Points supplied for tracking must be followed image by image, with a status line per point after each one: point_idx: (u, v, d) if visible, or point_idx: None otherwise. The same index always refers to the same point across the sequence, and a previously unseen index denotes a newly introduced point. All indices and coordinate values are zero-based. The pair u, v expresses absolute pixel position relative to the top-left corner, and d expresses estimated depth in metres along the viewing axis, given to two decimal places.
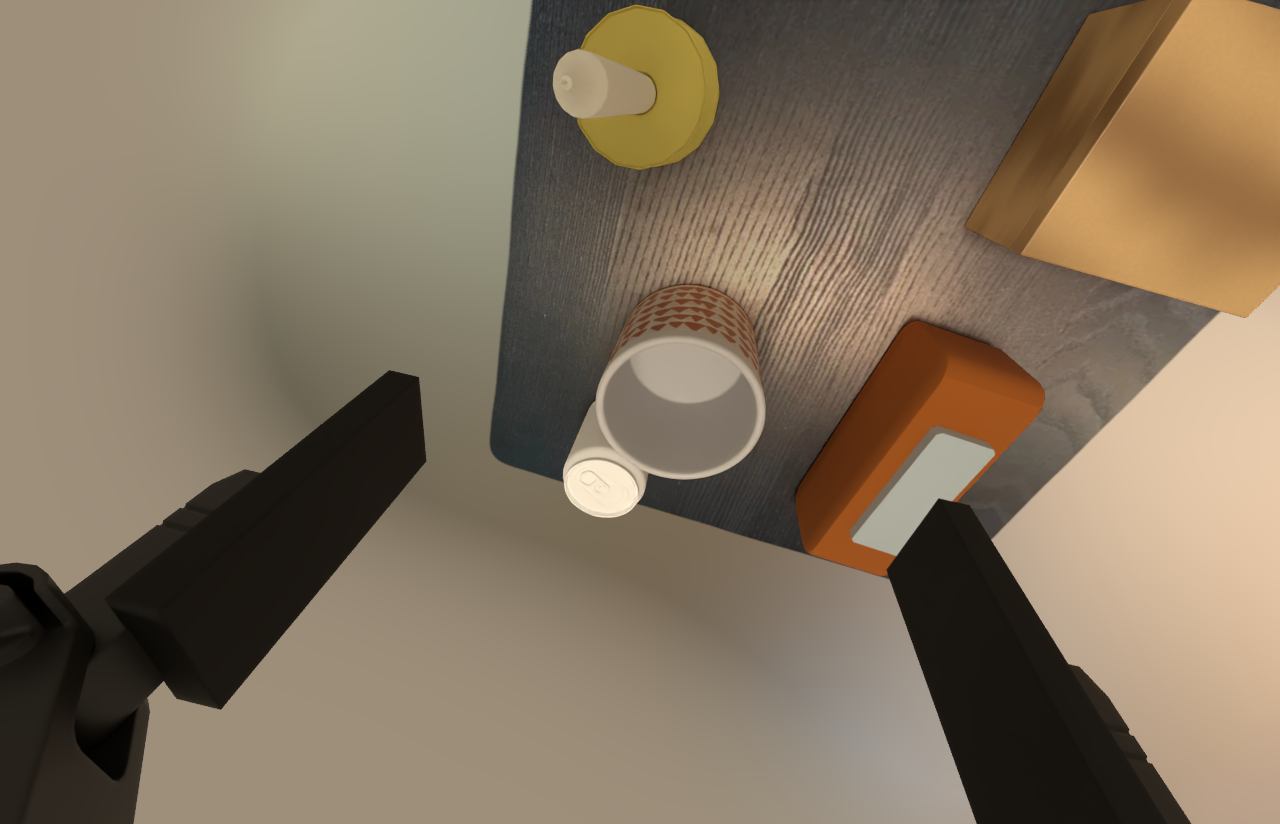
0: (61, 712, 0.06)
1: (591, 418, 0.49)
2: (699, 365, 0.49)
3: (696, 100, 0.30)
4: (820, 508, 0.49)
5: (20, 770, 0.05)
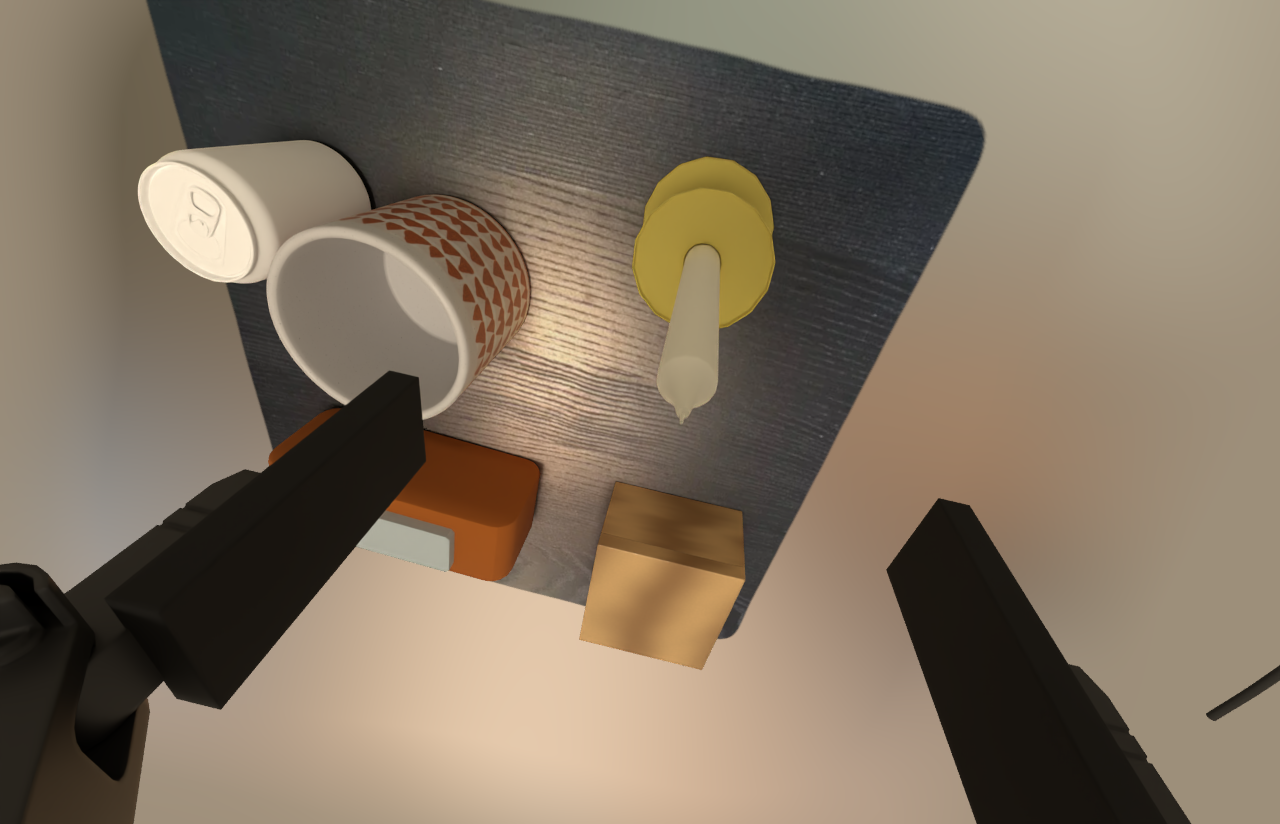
0: (61, 712, 0.06)
1: (309, 169, 0.34)
2: None
3: None
4: None
5: (20, 770, 0.05)
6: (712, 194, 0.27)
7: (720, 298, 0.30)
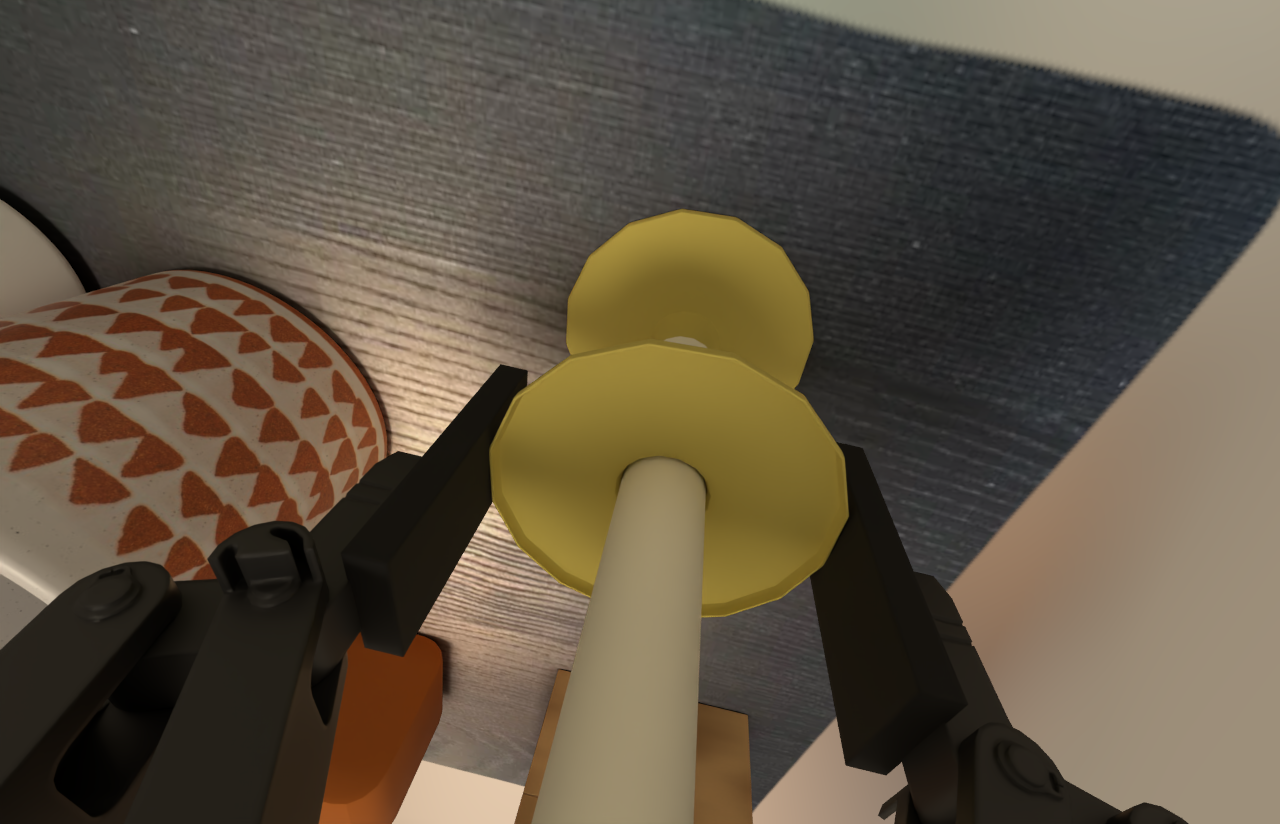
0: (307, 659, 0.06)
1: None
2: None
3: None
4: None
5: (279, 705, 0.06)
6: (681, 354, 0.10)
7: (708, 561, 0.13)
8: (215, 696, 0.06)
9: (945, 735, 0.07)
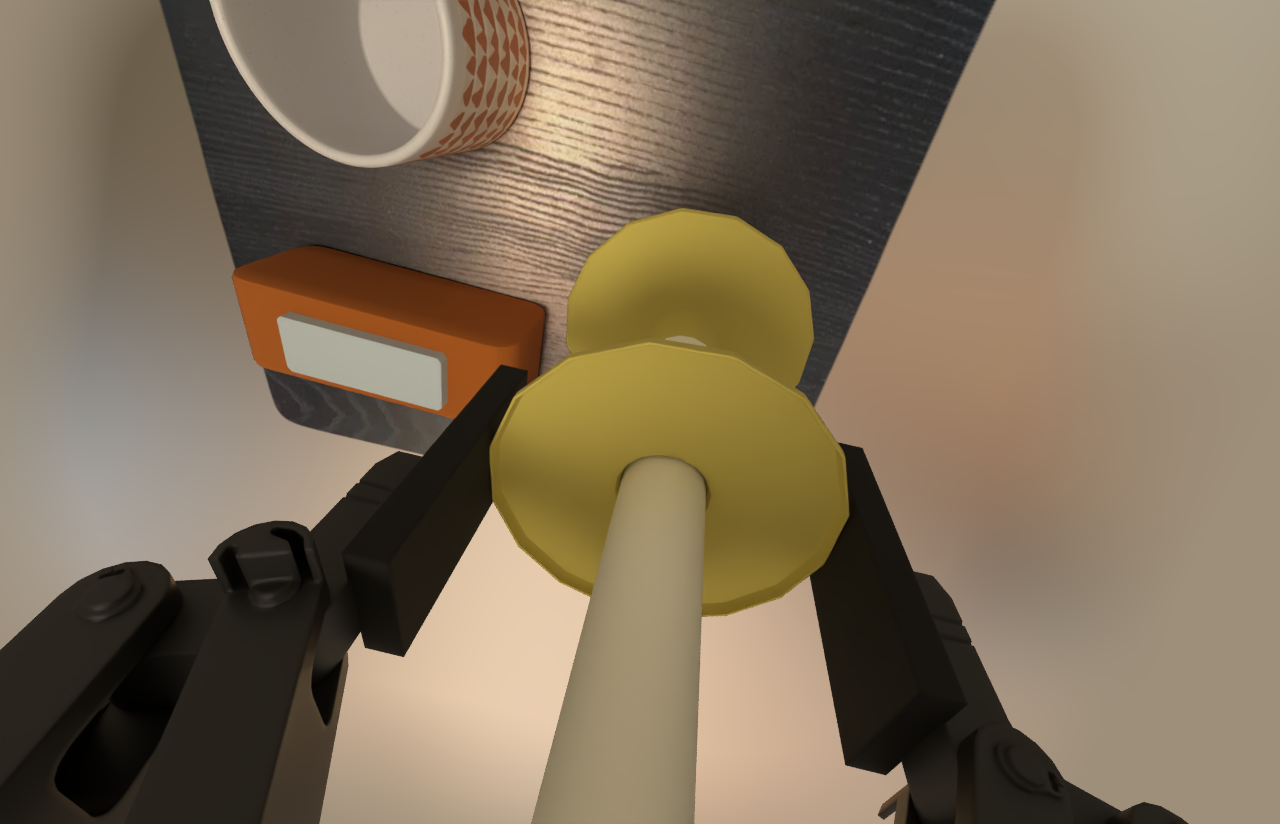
0: (307, 659, 0.06)
1: None
2: (426, 71, 0.36)
3: None
4: (303, 274, 0.40)
5: (279, 705, 0.06)
6: (682, 352, 0.10)
7: (708, 560, 0.13)
8: (215, 696, 0.06)
9: (944, 734, 0.08)
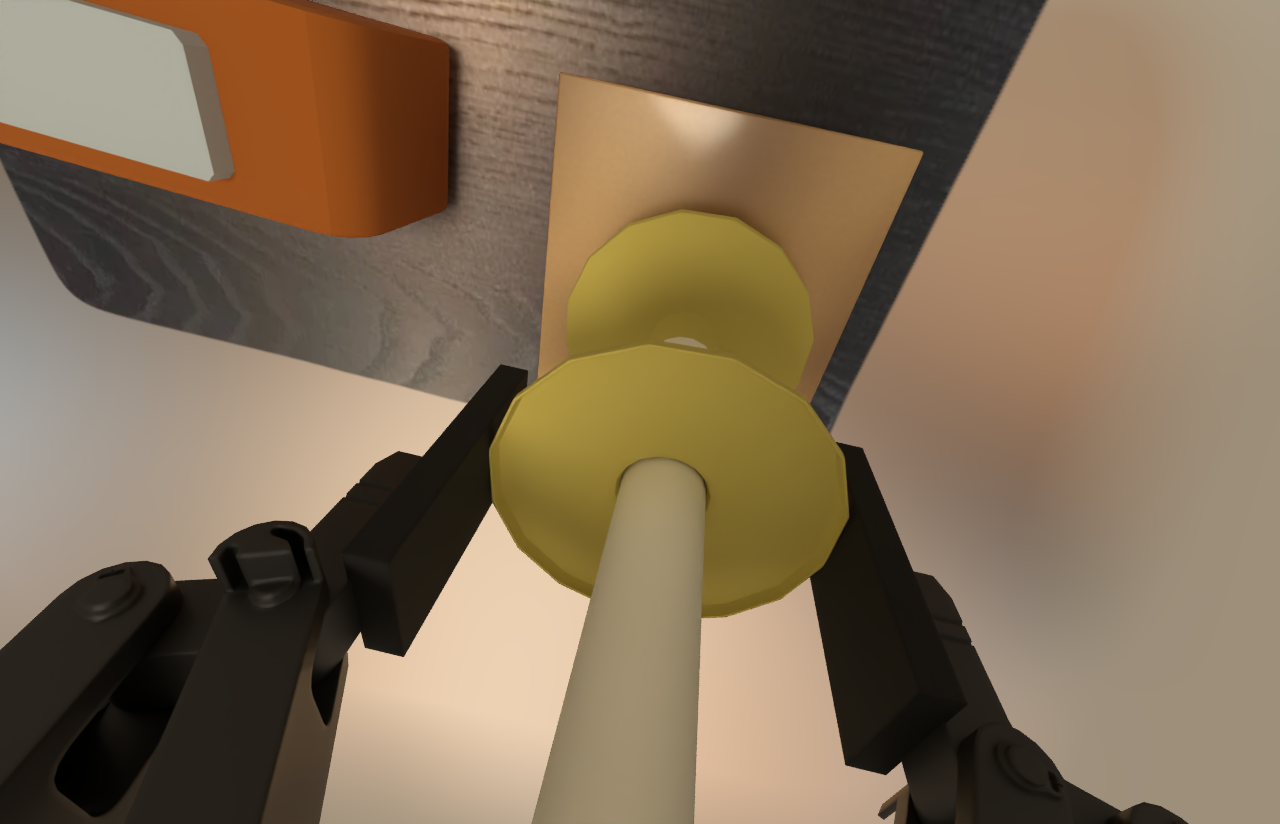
0: (307, 659, 0.06)
1: None
2: None
3: None
4: None
5: (279, 705, 0.06)
6: (681, 354, 0.10)
7: (708, 561, 0.13)
8: (215, 696, 0.06)
9: (945, 734, 0.08)
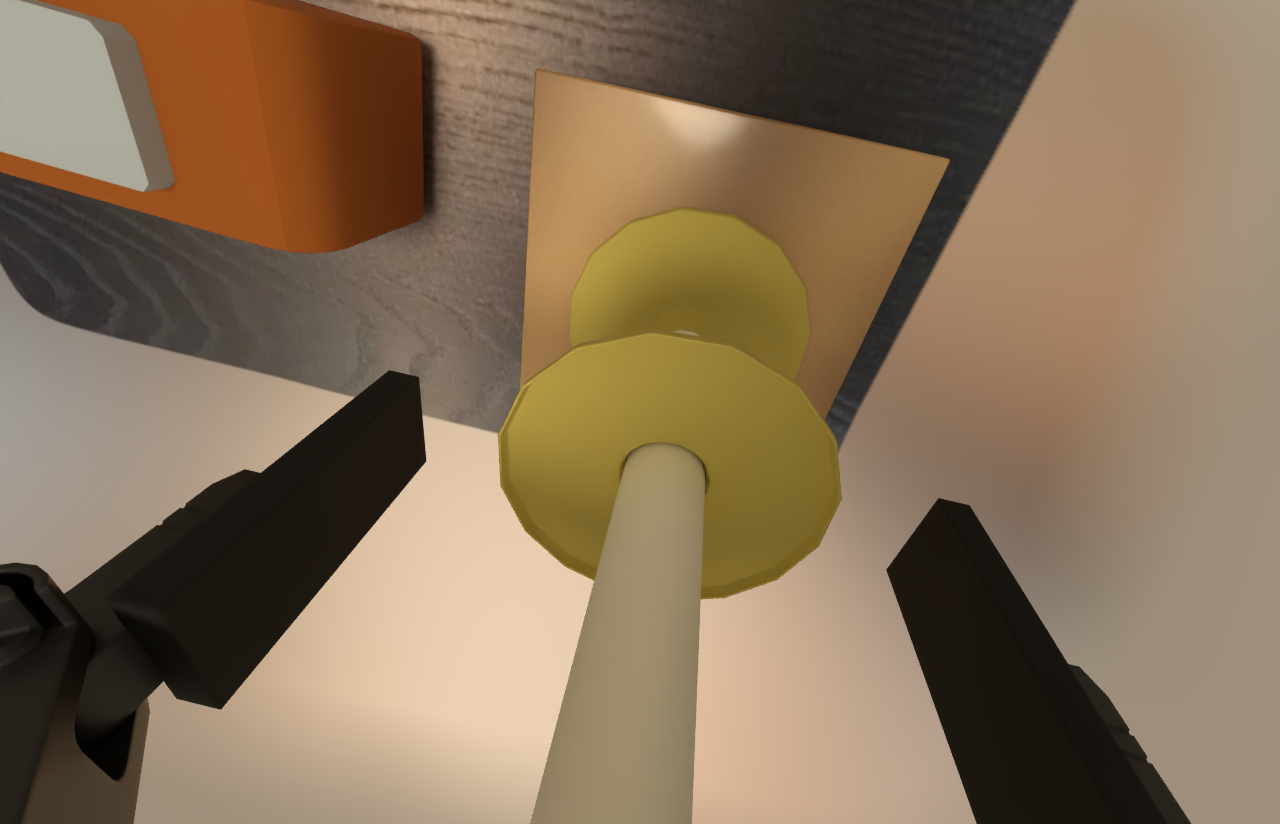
0: (61, 712, 0.06)
1: None
2: None
3: None
4: None
5: (20, 770, 0.05)
6: (682, 343, 0.10)
7: (707, 544, 0.13)
8: None
9: None
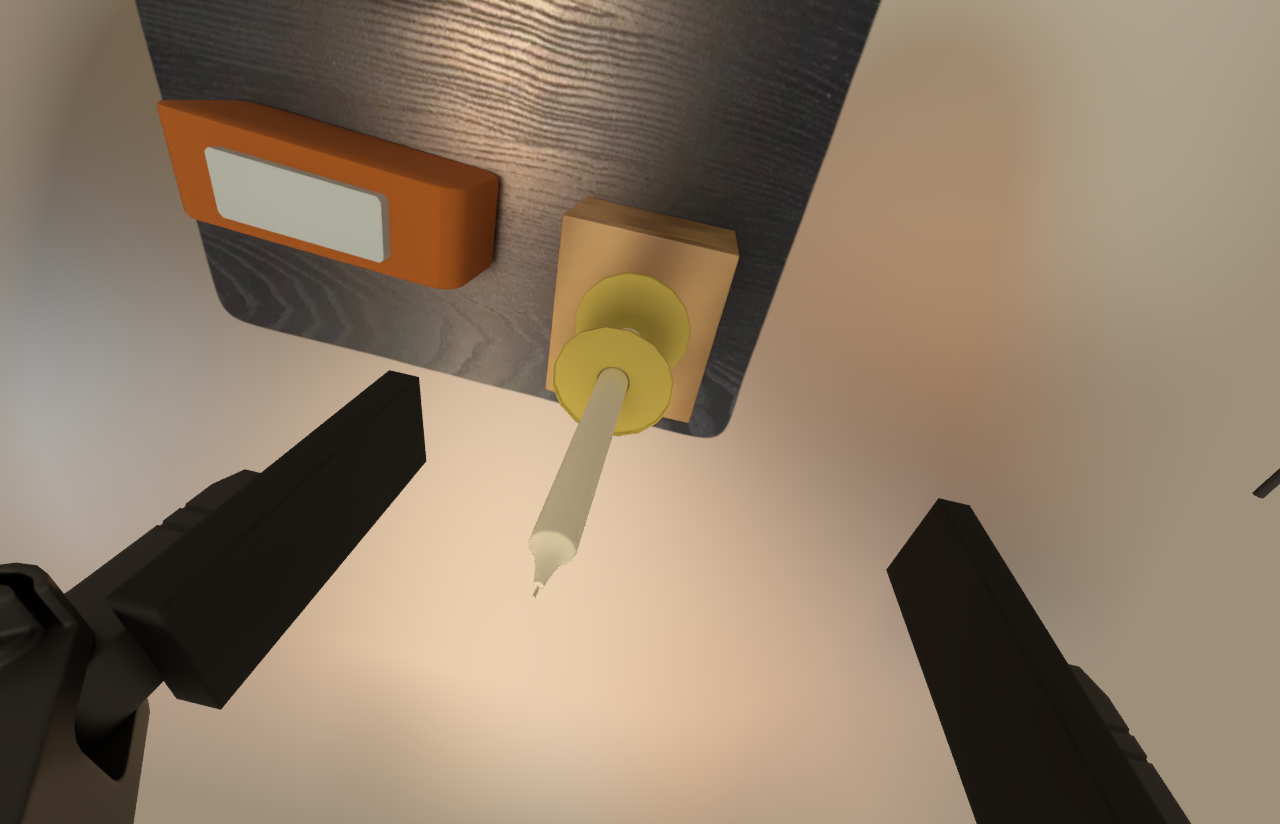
0: (61, 712, 0.06)
1: None
2: None
3: None
4: (237, 114, 0.38)
5: (20, 770, 0.05)
6: (616, 330, 0.31)
7: (631, 409, 0.34)
8: None
9: None
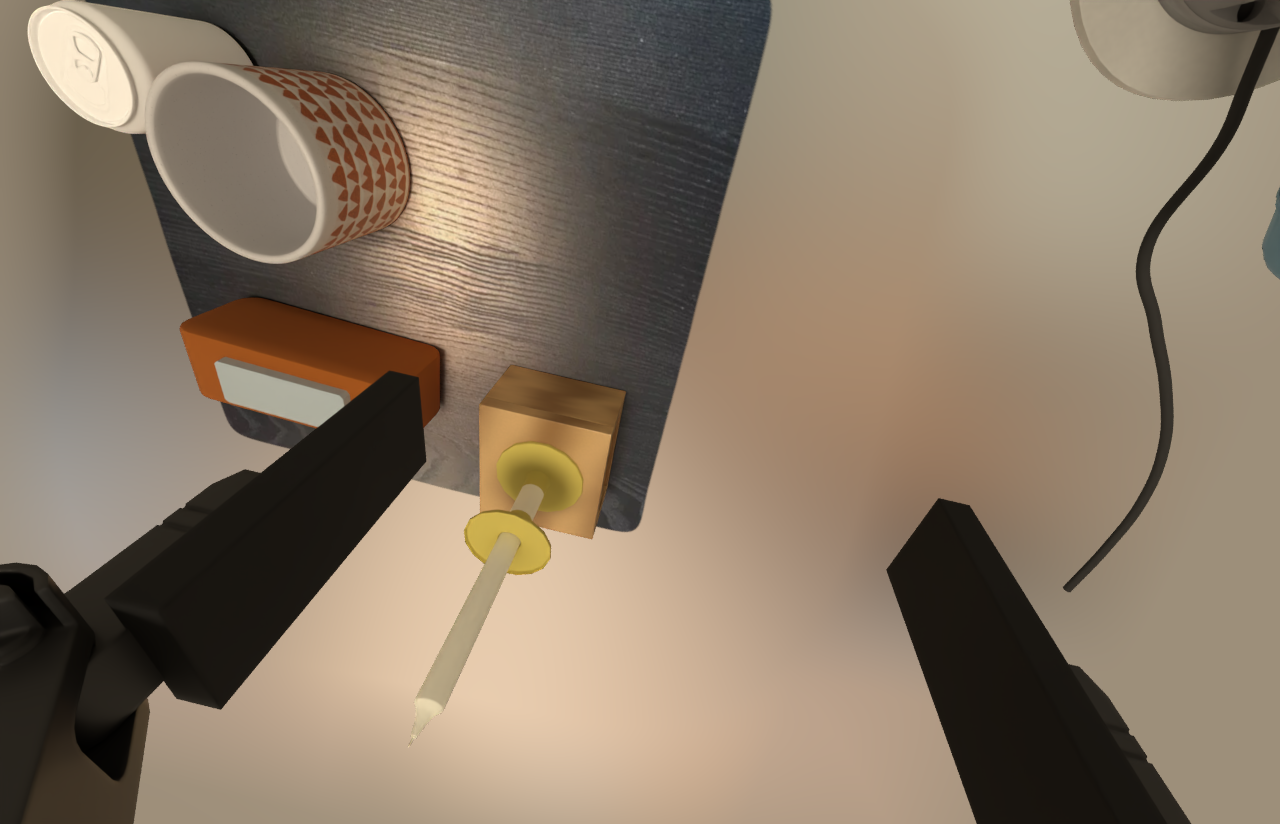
0: (61, 712, 0.06)
1: (191, 36, 0.39)
2: None
3: (512, 567, 0.48)
4: (238, 325, 0.51)
5: (20, 770, 0.05)
6: (505, 512, 0.44)
7: (524, 558, 0.47)
8: None
9: None
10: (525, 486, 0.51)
